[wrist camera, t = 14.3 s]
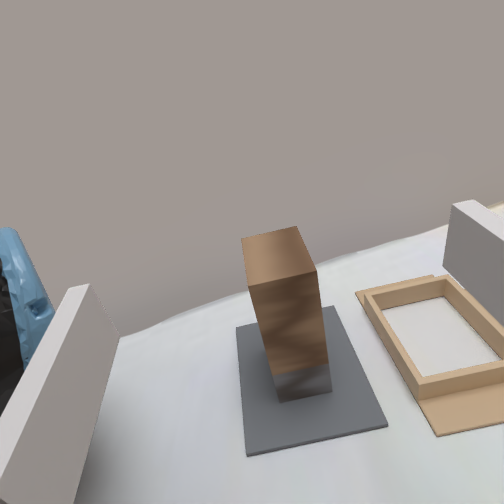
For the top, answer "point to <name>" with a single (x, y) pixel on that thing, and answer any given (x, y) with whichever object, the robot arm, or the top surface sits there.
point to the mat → (306, 409)
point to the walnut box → (288, 312)
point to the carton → (453, 382)
